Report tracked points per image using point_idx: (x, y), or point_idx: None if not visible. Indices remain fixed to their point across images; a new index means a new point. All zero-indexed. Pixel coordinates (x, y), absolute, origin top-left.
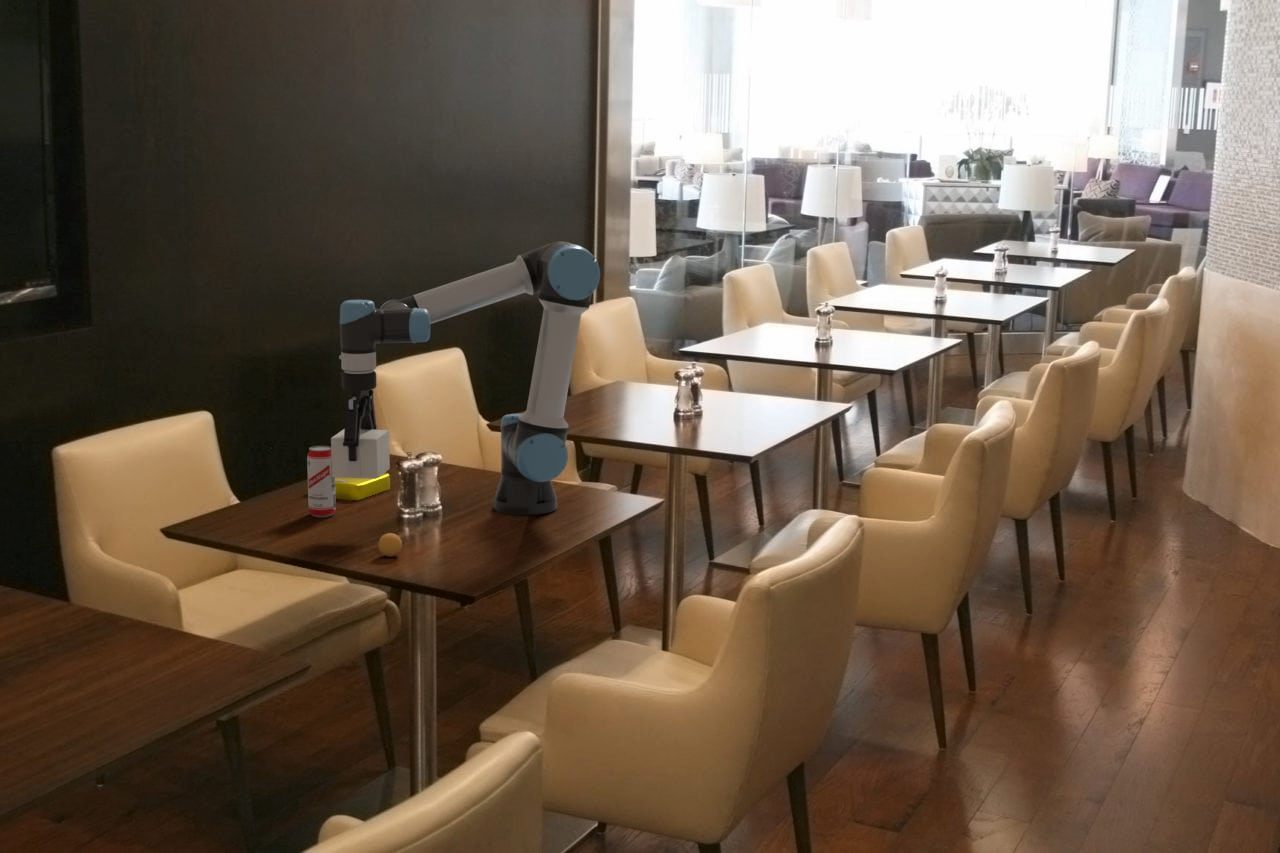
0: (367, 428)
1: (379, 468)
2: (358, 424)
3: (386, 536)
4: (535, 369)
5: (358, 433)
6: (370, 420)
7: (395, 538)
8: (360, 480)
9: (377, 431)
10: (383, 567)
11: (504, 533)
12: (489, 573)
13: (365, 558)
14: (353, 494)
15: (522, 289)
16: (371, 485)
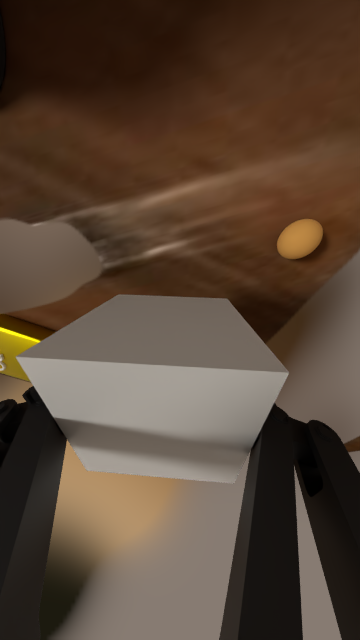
0: (57, 433)
1: (212, 305)
2: (295, 565)
3: (317, 243)
4: None
5: (291, 473)
6: (25, 488)
7: (320, 226)
8: (25, 345)
9: (78, 396)
10: (340, 238)
11: (144, 7)
12: None
13: (290, 273)
14: None
15: None
16: (24, 331)
